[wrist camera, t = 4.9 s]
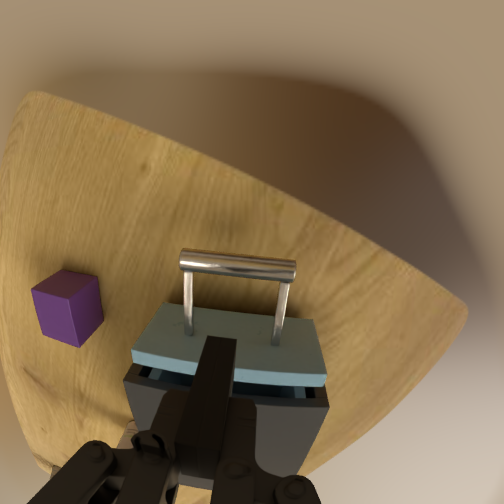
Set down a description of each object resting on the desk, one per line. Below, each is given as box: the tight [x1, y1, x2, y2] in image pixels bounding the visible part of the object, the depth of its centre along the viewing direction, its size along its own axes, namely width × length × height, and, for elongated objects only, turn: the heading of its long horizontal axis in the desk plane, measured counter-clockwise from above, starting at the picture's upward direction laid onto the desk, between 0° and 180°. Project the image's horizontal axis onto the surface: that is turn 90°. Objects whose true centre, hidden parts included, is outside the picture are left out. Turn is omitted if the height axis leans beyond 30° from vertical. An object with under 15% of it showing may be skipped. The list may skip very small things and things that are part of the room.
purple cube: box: [31, 270, 104, 348], centre depth 22 cm, size 5×5×5 cm
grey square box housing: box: [123, 363, 330, 490], centre depth 22 cm, size 17×14×9 cm
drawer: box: [131, 248, 327, 398], centre depth 20 cm, size 22×13×7 cm, turn 175°
